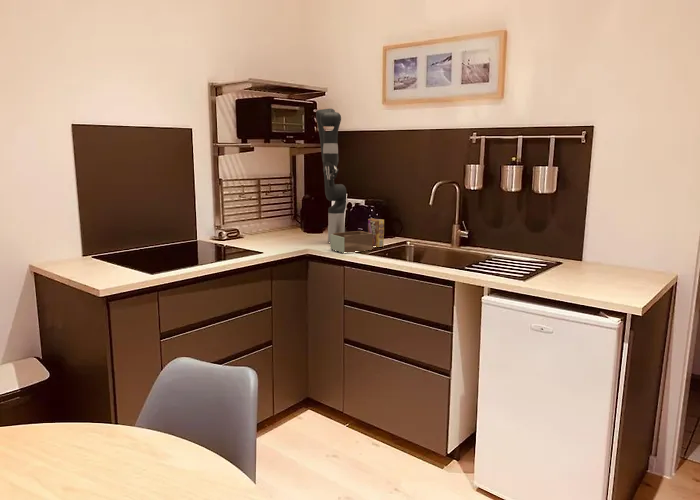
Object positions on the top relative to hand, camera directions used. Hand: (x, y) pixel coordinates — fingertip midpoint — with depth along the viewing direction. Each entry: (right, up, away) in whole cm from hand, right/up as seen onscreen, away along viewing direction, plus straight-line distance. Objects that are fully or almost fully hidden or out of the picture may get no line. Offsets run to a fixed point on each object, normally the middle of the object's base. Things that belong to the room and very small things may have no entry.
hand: (330, 187), depth 273 cm
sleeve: (+11, -32, +7) cm, 35 cm away
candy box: (+24, -31, +18) cm, 43 cm away
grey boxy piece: (+11, -32, +6) cm, 35 cm away
